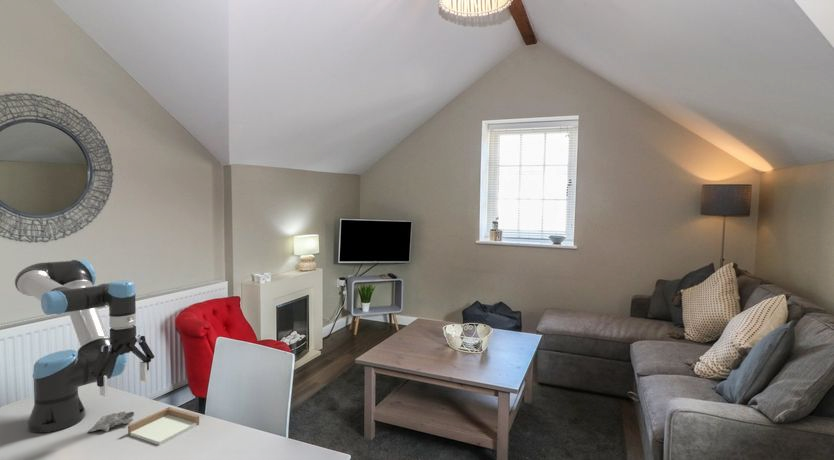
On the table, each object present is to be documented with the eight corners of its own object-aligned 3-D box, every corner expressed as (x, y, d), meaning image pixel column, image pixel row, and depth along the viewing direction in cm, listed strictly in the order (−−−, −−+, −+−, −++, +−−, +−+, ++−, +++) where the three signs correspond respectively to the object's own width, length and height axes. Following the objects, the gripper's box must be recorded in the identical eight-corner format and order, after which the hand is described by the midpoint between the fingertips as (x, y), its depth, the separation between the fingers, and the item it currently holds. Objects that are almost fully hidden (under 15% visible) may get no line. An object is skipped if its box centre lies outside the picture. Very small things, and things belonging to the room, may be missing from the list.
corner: (128, 434, 144) (127, 425, 144) (169, 415, 158) (168, 407, 157) (159, 445, 138) (159, 435, 138) (199, 424, 151) (199, 415, 151)
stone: (127, 430, 146) (126, 418, 145) (86, 434, 144) (85, 422, 143) (136, 420, 152) (135, 409, 152) (97, 424, 150) (96, 413, 150)
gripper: (90, 337, 136) (92, 404, 137) (164, 319, 159) (165, 376, 160) (75, 334, 139) (77, 399, 140) (150, 317, 162) (151, 373, 163)
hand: (124, 387), depth 150 cm, fingers open, 13 cm apart
